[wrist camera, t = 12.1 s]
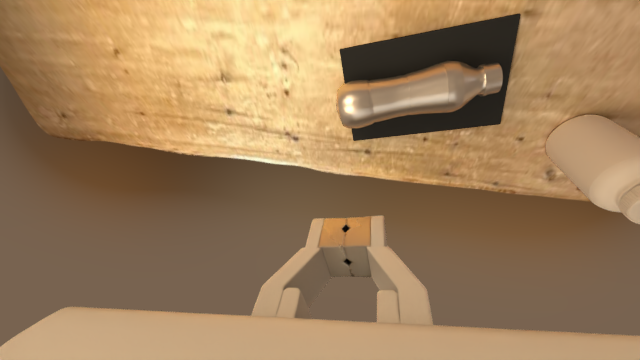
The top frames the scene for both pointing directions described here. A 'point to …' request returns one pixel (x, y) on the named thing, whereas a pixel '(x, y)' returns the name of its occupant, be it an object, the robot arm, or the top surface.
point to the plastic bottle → (416, 92)
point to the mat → (430, 49)
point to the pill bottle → (600, 162)
